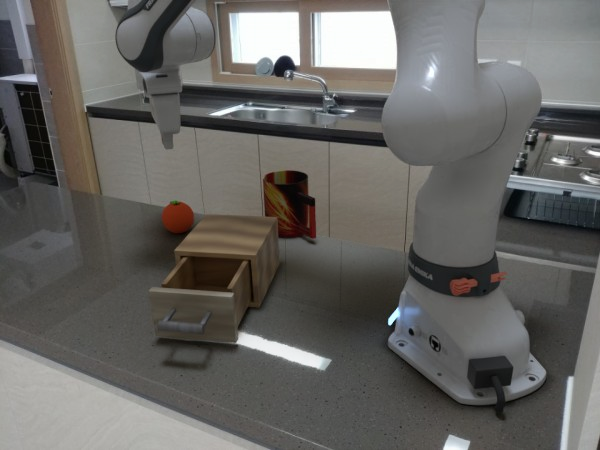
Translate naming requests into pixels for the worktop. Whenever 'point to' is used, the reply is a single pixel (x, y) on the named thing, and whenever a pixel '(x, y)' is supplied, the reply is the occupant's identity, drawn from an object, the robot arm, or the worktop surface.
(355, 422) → the worktop surface
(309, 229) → the mug
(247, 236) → the cabinet
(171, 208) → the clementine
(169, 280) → the drawer
